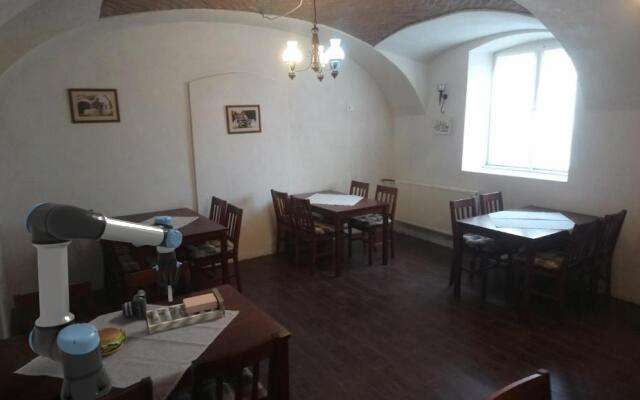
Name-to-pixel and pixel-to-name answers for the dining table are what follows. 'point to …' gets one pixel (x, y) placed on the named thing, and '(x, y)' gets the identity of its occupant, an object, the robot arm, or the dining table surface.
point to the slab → (200, 303)
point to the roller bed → (178, 321)
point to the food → (111, 340)
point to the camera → (136, 306)
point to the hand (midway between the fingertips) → (170, 300)
